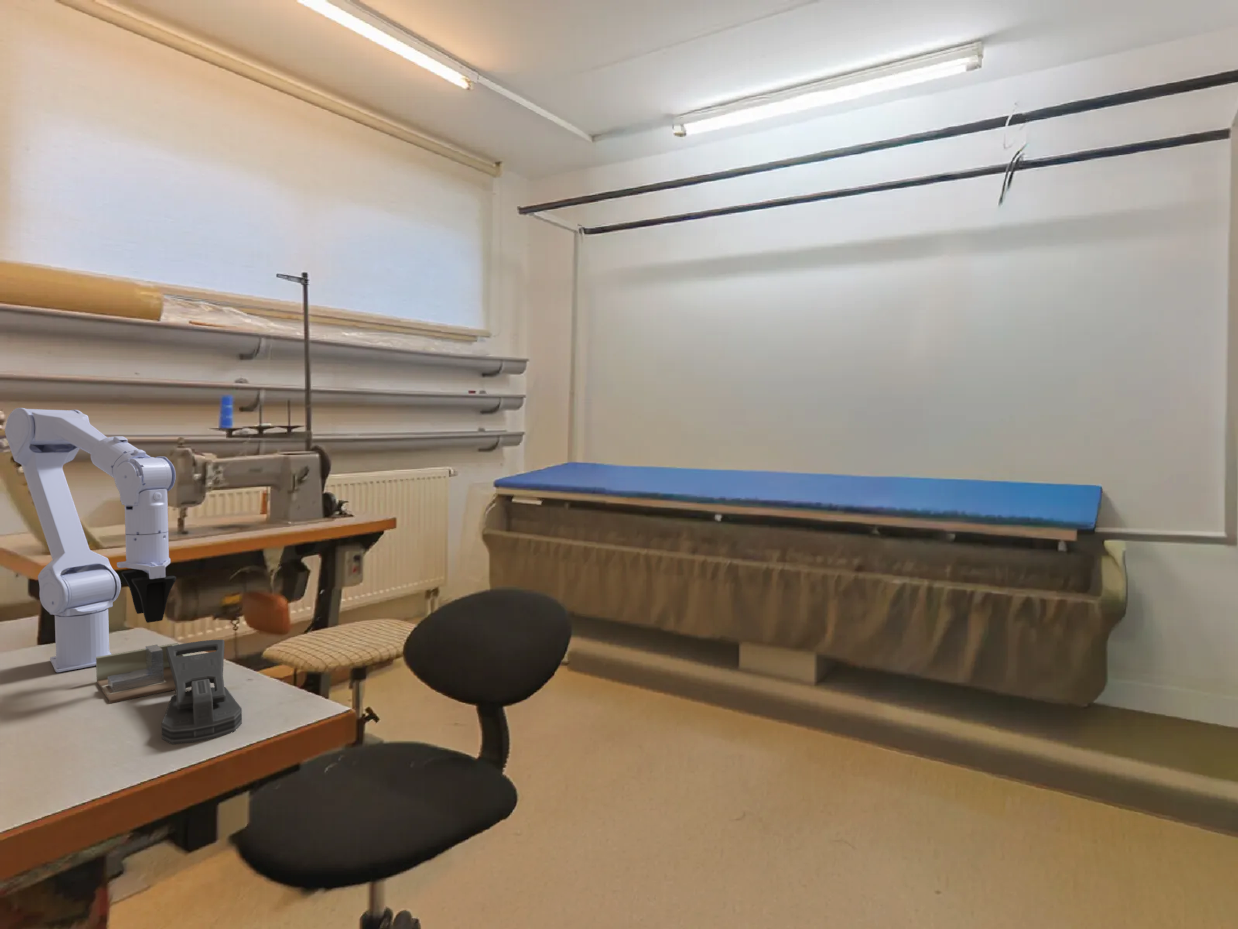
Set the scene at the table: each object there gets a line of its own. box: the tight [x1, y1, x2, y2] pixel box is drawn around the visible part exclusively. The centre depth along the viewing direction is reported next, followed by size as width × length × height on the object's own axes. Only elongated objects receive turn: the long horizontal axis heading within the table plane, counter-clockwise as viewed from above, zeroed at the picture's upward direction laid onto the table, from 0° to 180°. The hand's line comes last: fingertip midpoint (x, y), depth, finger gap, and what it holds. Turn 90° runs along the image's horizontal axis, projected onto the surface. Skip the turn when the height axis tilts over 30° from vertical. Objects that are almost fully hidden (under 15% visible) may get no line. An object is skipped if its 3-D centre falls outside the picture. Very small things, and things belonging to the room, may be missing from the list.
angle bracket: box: [108, 644, 164, 693], centre depth 107 cm, size 6×4×5 cm, turn 134°
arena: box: [95, 642, 192, 704], centre depth 109 cm, size 12×11×4 cm
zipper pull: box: [161, 639, 243, 745], centre depth 99 cm, size 9×7×25 cm
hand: (149, 616), depth 113 cm, fingers open, 7 cm apart
